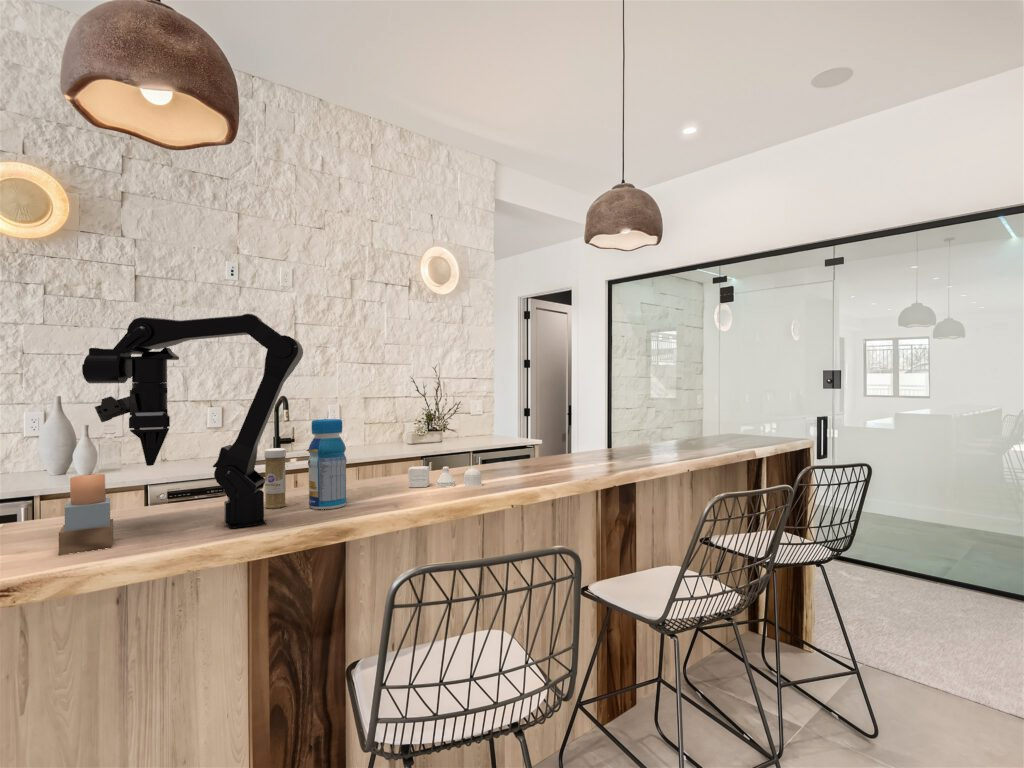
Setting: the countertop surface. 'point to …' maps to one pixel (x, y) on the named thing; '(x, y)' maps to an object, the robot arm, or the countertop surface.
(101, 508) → the tower top
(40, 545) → the countertop surface
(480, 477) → the container set
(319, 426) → the beverage bottle
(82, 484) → the tan cylinder
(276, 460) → the sprinkles bottle
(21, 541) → the countertop surface
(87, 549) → the tower base
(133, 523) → the countertop surface
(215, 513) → the countertop surface
